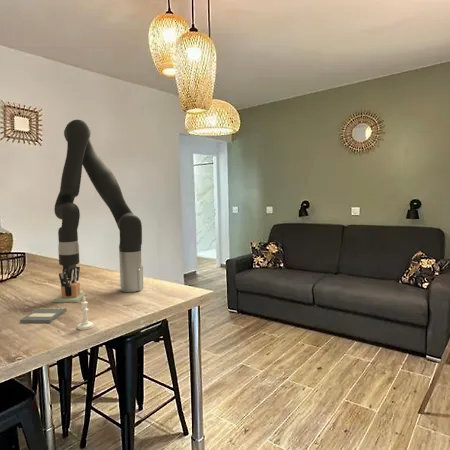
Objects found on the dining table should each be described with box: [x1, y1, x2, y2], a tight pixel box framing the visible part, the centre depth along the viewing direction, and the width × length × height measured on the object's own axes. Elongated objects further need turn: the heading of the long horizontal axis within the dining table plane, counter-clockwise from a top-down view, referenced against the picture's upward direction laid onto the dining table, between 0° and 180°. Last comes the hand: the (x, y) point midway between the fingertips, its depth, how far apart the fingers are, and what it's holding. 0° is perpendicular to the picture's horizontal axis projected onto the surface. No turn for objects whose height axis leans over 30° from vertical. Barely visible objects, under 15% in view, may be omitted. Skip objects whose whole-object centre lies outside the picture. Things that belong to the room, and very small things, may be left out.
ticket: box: [19, 307, 68, 324], centre depth 121 cm, size 10×12×1 cm
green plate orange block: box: [51, 282, 88, 303], centre depth 140 cm, size 10×9×6 cm
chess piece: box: [76, 296, 95, 331], centre depth 112 cm, size 5×5×10 cm
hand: (70, 294), depth 141 cm, fingers closed on green plate orange block, 3 cm apart
